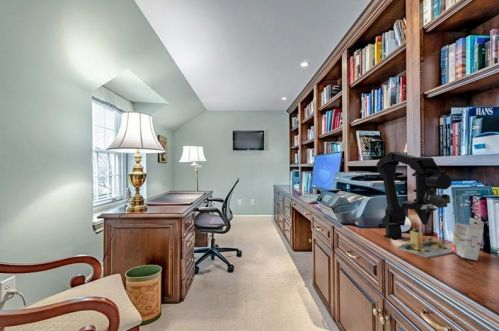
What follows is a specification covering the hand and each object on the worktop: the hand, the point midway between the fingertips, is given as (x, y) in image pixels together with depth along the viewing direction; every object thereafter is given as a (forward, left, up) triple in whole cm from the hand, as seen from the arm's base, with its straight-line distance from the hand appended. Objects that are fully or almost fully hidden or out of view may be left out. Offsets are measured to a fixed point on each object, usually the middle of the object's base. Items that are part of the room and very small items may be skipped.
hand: (424, 224), depth 104 cm
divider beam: (-2, +2, -10) cm, 11 cm away
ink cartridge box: (+10, +7, -11) cm, 16 cm away
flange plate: (-1, +2, -11) cm, 11 cm away
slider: (-2, -3, -10) cm, 11 cm away
